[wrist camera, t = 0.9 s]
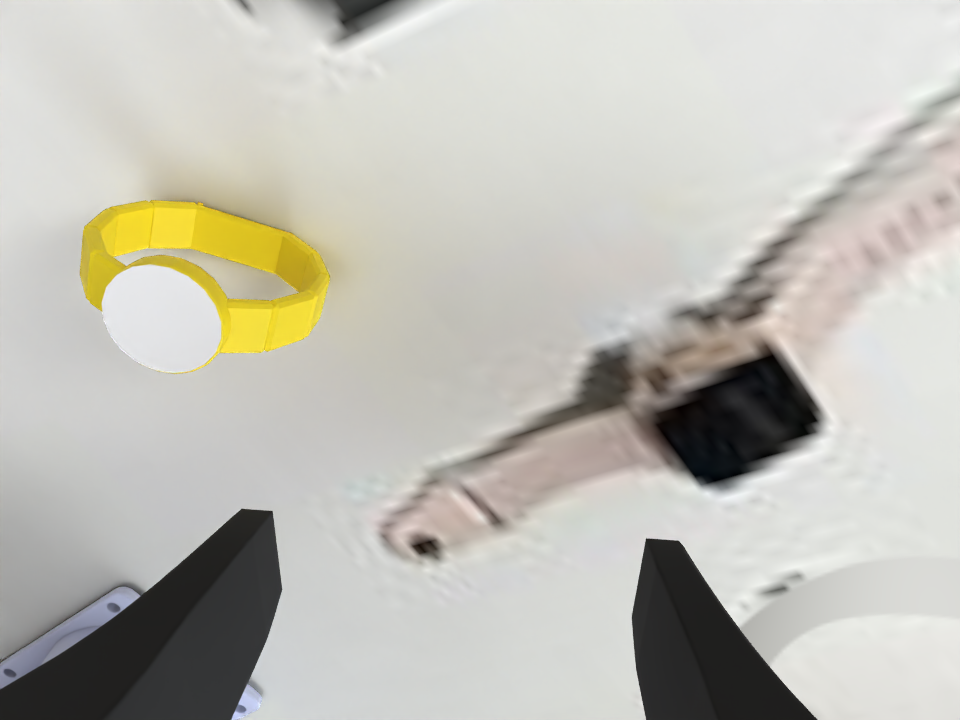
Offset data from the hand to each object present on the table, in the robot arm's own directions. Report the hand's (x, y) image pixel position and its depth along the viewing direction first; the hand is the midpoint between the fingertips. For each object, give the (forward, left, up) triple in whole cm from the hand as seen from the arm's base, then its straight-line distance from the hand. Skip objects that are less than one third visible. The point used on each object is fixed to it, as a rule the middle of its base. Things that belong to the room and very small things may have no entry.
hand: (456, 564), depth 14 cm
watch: (-4, +7, -10) cm, 13 cm away
